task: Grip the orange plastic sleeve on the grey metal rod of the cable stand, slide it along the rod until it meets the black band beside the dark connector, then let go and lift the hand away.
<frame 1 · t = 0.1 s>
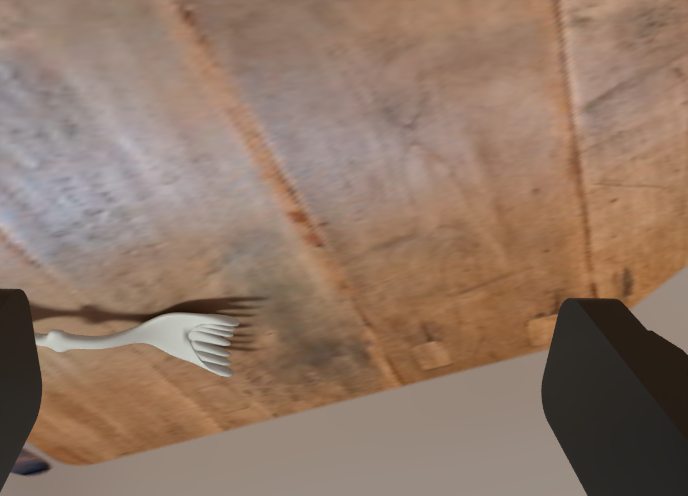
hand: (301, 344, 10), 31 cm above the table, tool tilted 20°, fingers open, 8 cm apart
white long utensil: (60, 312, 60), on the table
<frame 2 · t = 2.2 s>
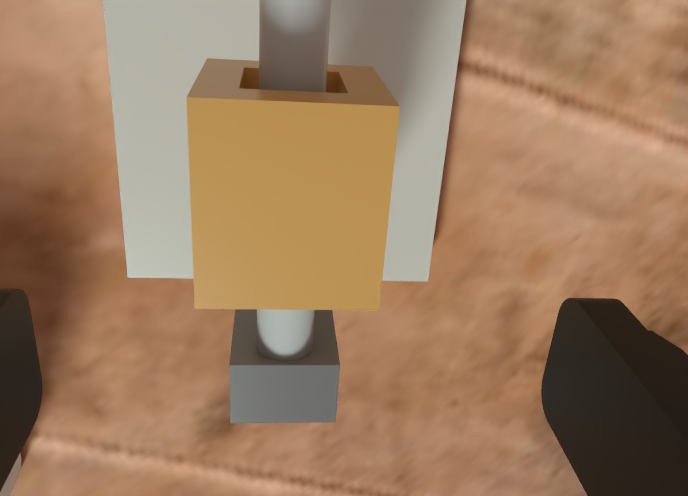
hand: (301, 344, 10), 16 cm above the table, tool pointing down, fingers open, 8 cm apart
sleeve: (289, 179, 17), point 9 cm above the table, slide at 0.0 cm
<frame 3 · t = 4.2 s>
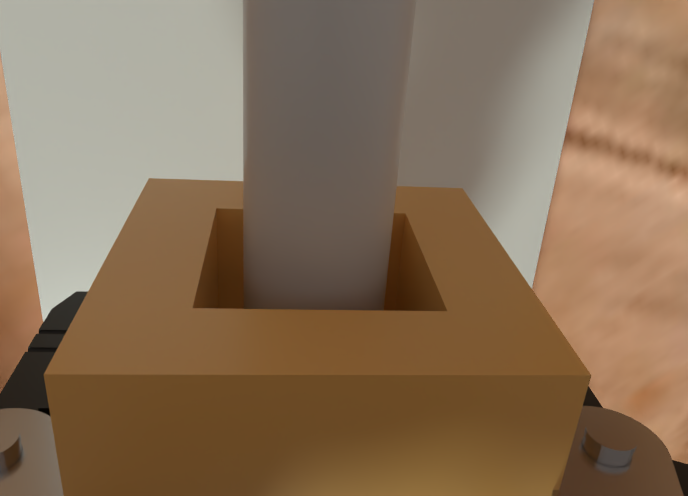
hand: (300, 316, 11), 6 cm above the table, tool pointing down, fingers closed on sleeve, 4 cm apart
sleeve: (307, 429, 8), point 9 cm above the table, slide at 0.0 cm, touching gripper
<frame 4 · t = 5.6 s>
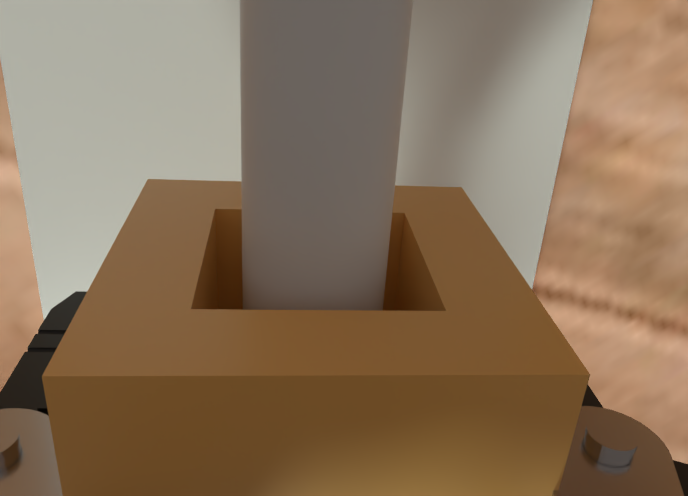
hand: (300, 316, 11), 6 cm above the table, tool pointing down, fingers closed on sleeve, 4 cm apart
sleeve: (307, 429, 8), point 9 cm above the table, slide at 4.5 cm, touching gripper
cable stand: (297, 124, 16), on the table
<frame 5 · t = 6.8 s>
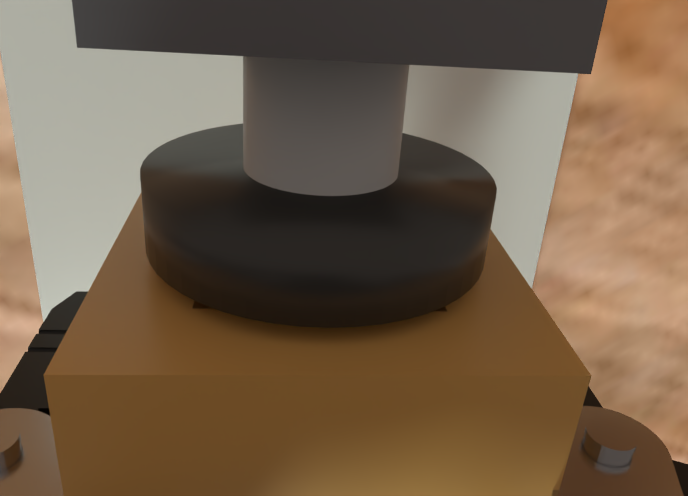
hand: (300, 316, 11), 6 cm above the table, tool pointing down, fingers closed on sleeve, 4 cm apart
sleeve: (307, 429, 8), point 9 cm above the table, slide at 8.9 cm, touching gripper
cable stand: (292, 283, 18), on the table
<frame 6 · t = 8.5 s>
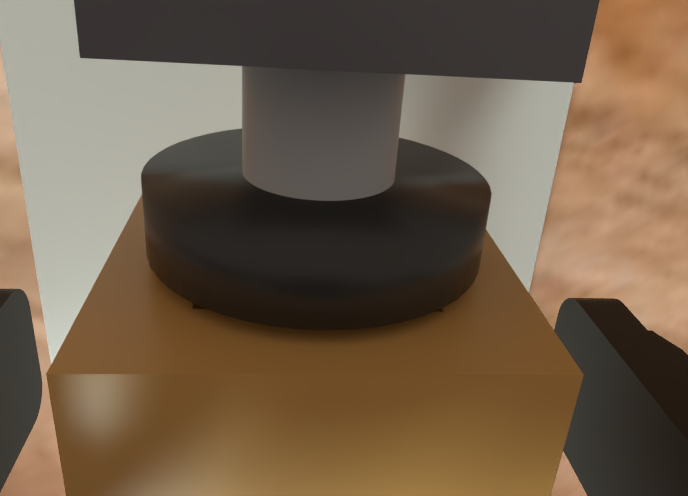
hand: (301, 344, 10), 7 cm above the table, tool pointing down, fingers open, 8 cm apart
sleeve: (306, 428, 8), point 9 cm above the table, slide at 8.9 cm
cable stand: (291, 285, 18), on the table
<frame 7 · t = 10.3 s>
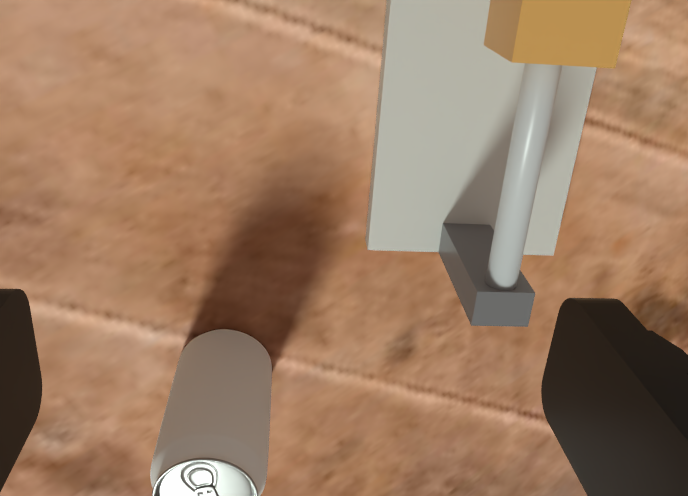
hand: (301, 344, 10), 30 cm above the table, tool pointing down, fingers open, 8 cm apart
can: (226, 362, 46), on the table
cable stand: (488, 35, 37), on the table
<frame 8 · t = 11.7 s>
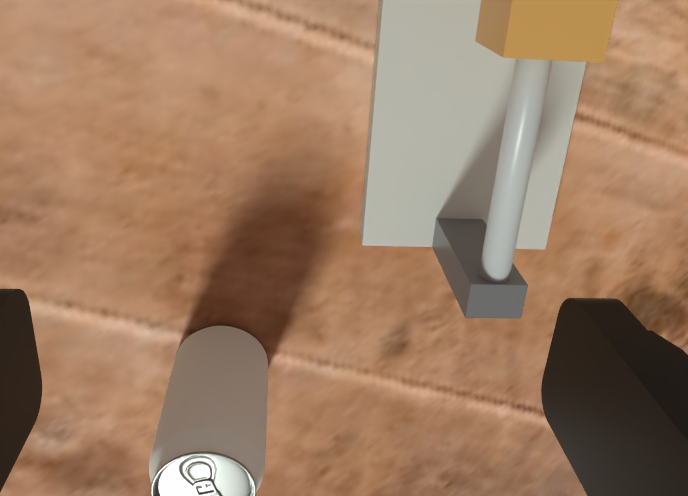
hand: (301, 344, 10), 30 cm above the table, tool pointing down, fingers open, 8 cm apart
can: (222, 359, 46), on the table
cable stand: (480, 32, 38), on the table
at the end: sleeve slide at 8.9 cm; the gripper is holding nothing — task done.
